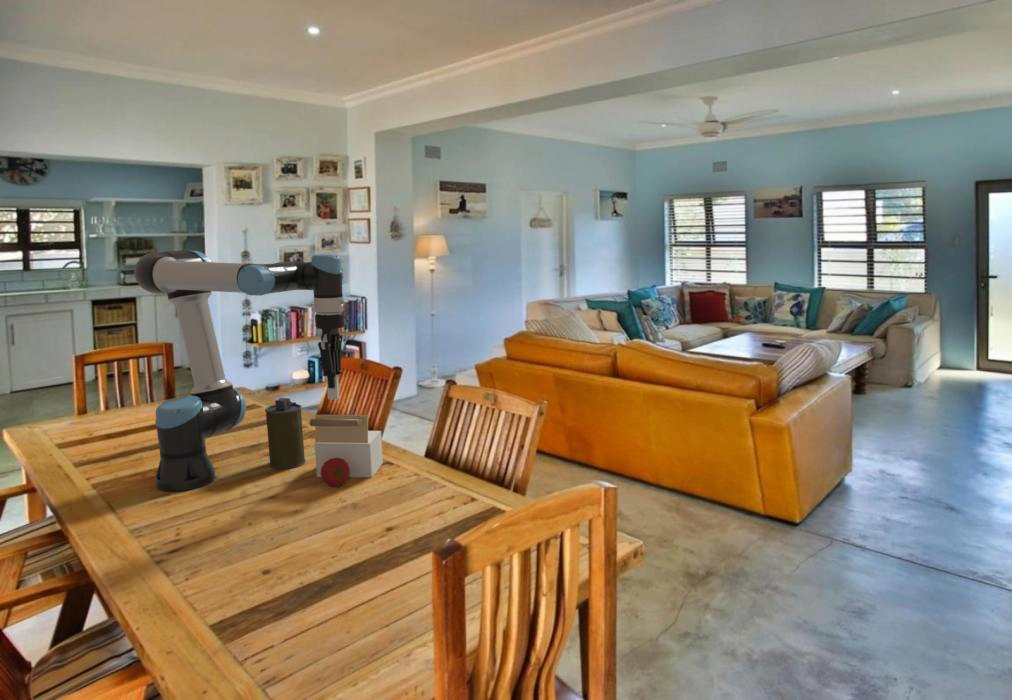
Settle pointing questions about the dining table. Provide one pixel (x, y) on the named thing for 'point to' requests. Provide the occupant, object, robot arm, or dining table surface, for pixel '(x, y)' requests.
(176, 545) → the dining table surface
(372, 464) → the carton
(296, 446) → the canister
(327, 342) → the robot arm
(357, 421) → the flap
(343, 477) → the tomato
